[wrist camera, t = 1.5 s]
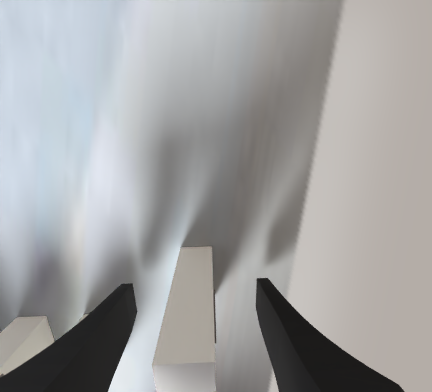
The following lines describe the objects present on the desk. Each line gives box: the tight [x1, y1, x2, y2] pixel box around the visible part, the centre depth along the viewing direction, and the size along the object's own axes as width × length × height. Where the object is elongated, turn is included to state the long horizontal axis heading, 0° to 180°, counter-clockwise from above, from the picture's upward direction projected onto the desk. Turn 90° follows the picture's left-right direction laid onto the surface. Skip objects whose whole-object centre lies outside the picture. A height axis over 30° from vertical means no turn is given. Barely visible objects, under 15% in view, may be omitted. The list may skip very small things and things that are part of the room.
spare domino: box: [152, 246, 216, 392], centre depth 11 cm, size 4×2×7 cm, turn 1°
